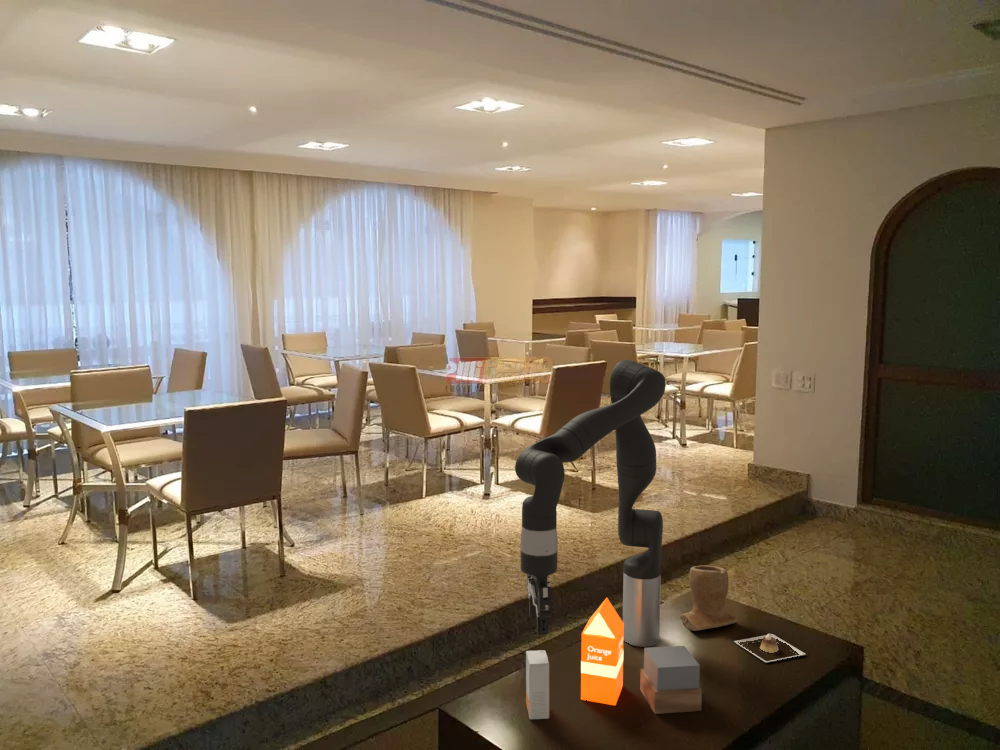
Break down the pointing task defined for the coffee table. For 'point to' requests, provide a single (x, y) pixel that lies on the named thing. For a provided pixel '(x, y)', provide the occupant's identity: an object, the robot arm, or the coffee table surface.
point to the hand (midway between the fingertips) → (538, 625)
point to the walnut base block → (670, 697)
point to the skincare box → (537, 684)
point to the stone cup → (708, 599)
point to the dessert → (769, 645)
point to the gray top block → (671, 668)
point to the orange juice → (602, 656)
